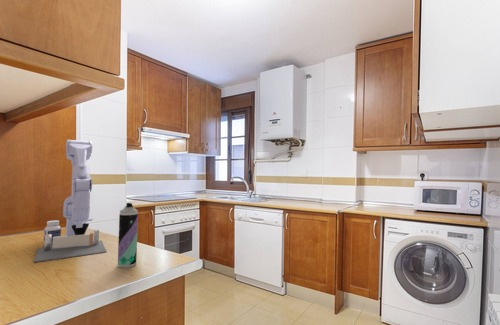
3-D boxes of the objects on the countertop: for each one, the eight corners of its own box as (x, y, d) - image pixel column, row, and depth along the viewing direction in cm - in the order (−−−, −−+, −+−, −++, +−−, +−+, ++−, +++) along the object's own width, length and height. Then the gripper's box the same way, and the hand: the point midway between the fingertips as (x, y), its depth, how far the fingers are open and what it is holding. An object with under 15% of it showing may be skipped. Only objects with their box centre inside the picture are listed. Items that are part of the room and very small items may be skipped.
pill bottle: (63, 244, 106) (64, 220, 107) (52, 247, 101) (53, 222, 102) (51, 243, 107) (52, 219, 107) (39, 247, 102) (41, 222, 102)
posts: (44, 250, 97) (45, 234, 97) (98, 244, 107) (98, 229, 107) (44, 252, 96) (44, 235, 96) (98, 245, 106) (99, 230, 106)
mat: (38, 248, 99) (38, 247, 99) (101, 241, 111) (101, 240, 111) (33, 262, 85) (33, 261, 85) (106, 252, 97) (106, 251, 97)
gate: (52, 248, 97) (52, 236, 97) (53, 247, 98) (53, 235, 98) (92, 244, 103) (93, 233, 103) (93, 243, 104) (93, 232, 105)
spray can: (113, 267, 82) (116, 203, 83) (124, 261, 87) (126, 201, 88) (129, 268, 81) (132, 204, 82) (139, 262, 86) (141, 202, 87)
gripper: (92, 210, 99) (90, 246, 99) (93, 205, 112) (92, 237, 111) (69, 211, 96) (68, 248, 95) (73, 206, 108) (72, 239, 108)
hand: (79, 242), depth 103 cm, fingers closed
